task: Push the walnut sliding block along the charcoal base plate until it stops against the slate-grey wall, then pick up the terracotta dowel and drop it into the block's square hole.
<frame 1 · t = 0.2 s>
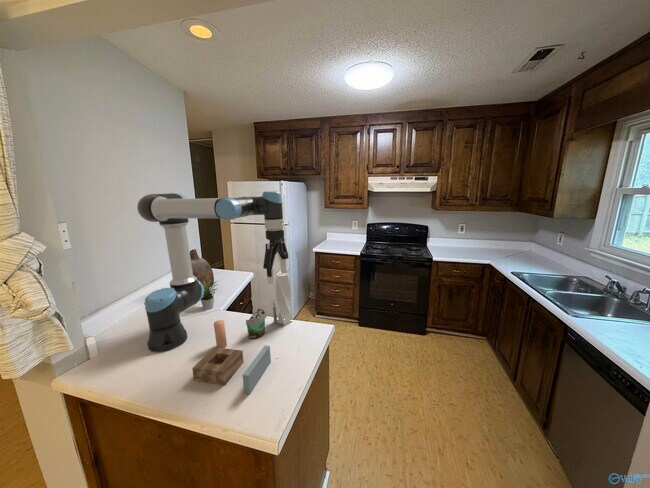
hand: (278, 278, 111), 28 cm above the counter, fingers open, 13 cm apart
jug: (197, 293, 171), on the counter
food container: (260, 334, 119), on the counter
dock: (231, 375, 93), on the counter
skyscraper: (284, 322, 130), on the counter
block: (219, 364, 93), point 4 cm above the counter, slide at 0.0 cm
house plant: (211, 308, 148), on the counter
dowel: (222, 348, 109), on the counter
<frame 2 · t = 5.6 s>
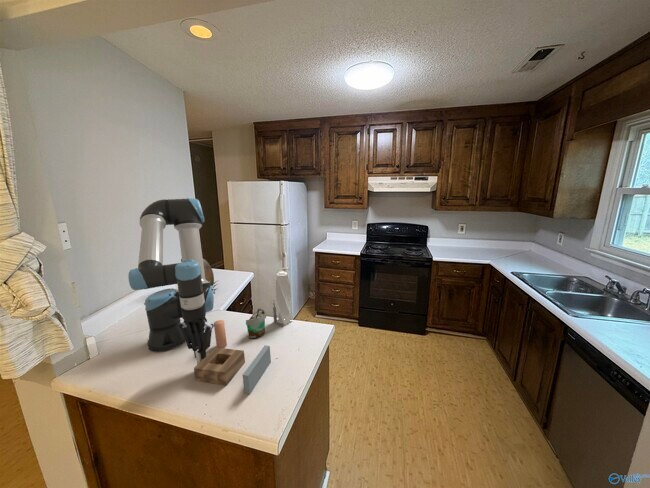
hand: (201, 365, 95), 3 cm above the counter, fingers closed
block: (220, 365, 93), point 4 cm above the counter, slide at 0.6 cm, touching gripper
everything else where it was.
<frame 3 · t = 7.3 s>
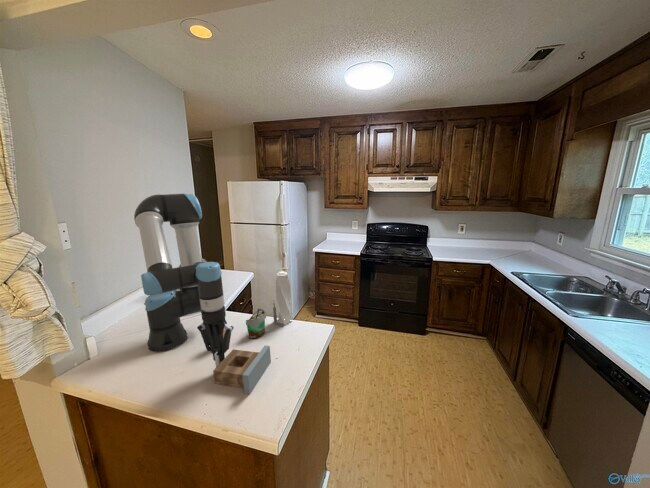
hand: (220, 368, 93), 3 cm above the counter, fingers closed
block: (239, 367, 92), point 4 cm above the counter, slide at 8.1 cm, touching gripper
everything else where it was.
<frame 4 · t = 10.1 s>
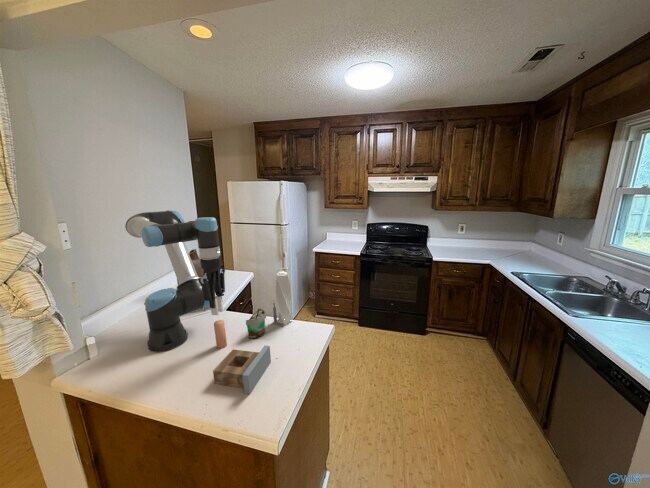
hand: (217, 312, 106), 16 cm above the counter, fingers open, 2 cm apart
block: (239, 367, 92), point 4 cm above the counter, slide at 8.0 cm
everything else where it was.
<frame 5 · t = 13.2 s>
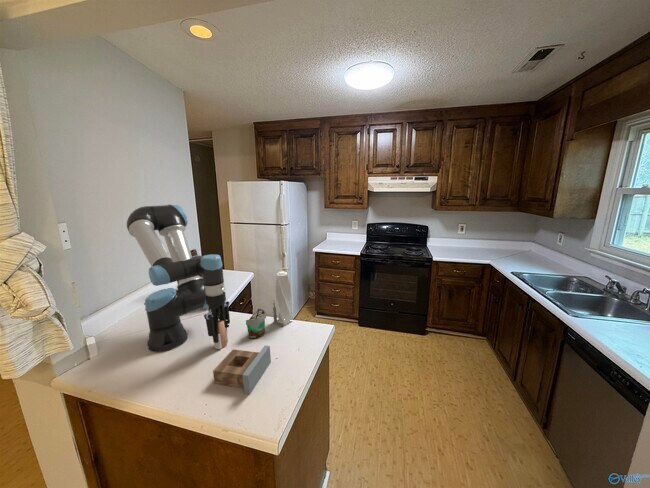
hand: (221, 344, 109), 2 cm above the counter, fingers closed on dowel, 4 cm apart
dowel: (222, 348, 109), on the counter, touching gripper
everything else where it was.
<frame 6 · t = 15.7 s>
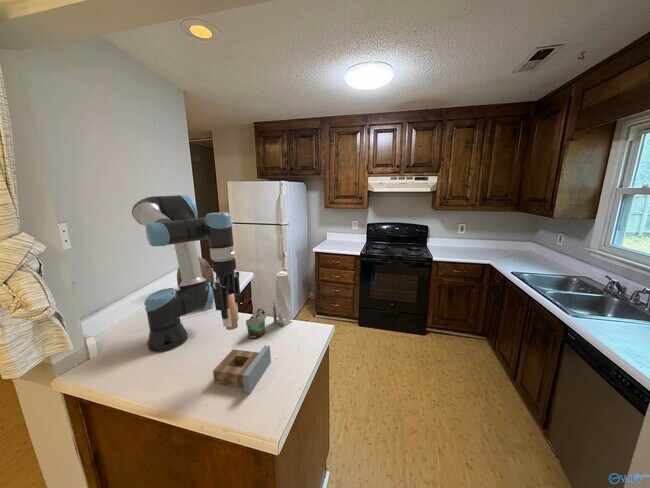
hand: (231, 322, 91), 19 cm above the counter, fingers closed on dowel, 4 cm apart
dowel: (231, 327, 92), point 18 cm above the counter, touching gripper
everything else where it was.
when the fingers open (8 cm above the counter, at t = 18.3 s): dowel drops 2 cm, resting on block.
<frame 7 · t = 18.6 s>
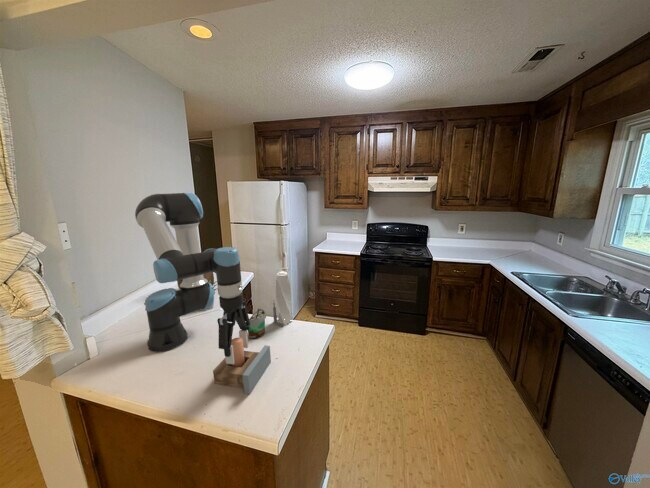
hand: (237, 354, 91), 9 cm above the counter, fingers open, 8 cm apart
block: (239, 367, 92), point 4 cm above the counter, slide at 8.0 cm, touching dowel
dowel: (239, 371, 92), point 2 cm above the counter, touching block
everything else where it was.
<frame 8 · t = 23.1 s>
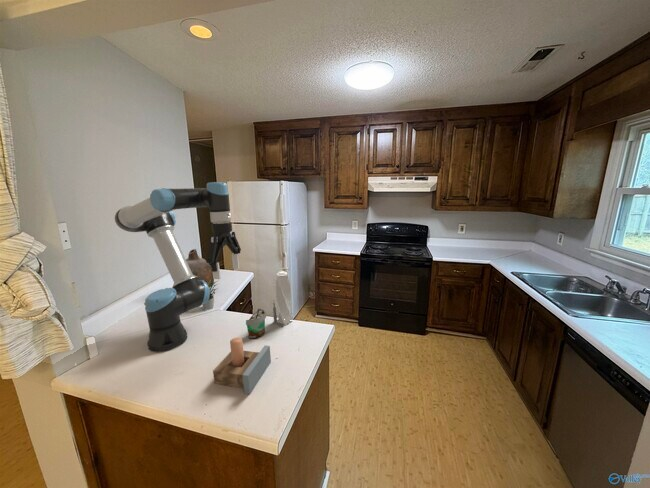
hand: (227, 273, 107), 32 cm above the counter, fingers open, 13 cm apart
nothing on the counter moved.
at the end: block slide at 8.0 cm; dowel 0.2 cm from the target spot, point 2.3 cm above the counter; dowel tilted 2° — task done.
